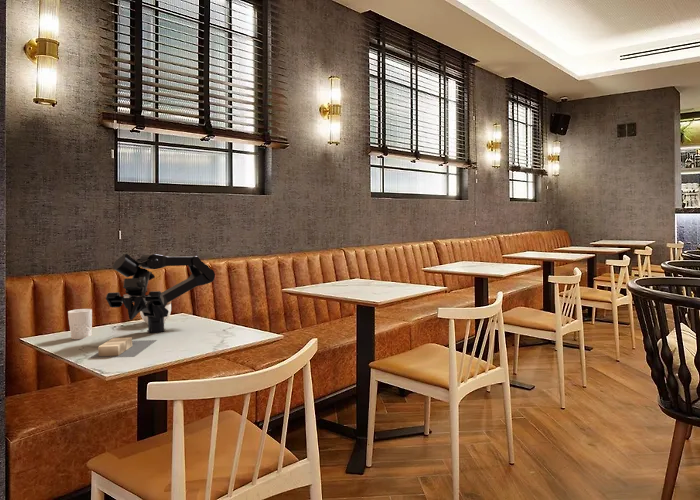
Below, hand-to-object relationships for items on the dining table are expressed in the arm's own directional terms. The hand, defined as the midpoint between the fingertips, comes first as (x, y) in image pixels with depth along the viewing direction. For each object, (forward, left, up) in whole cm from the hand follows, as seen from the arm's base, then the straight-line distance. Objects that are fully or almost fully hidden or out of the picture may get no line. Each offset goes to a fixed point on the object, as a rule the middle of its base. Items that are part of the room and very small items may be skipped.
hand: (130, 319), depth 186 cm
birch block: (+6, -2, -6) cm, 9 cm away
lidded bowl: (-35, +8, -9) cm, 37 cm away
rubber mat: (+9, -2, -9) cm, 13 cm away
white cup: (-19, -18, -9) cm, 28 cm away
